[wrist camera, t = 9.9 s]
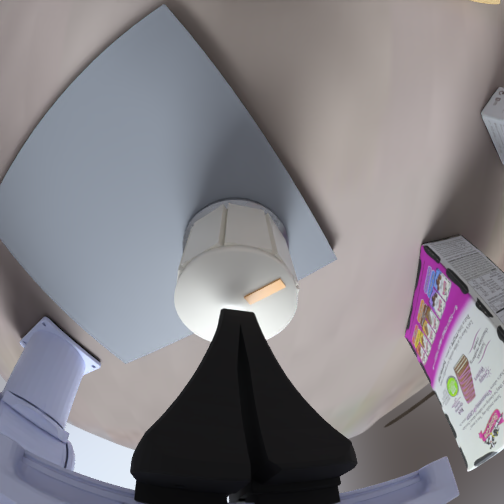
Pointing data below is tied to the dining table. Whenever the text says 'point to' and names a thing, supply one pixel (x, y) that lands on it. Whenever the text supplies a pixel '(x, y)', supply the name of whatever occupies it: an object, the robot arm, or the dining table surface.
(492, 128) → the skincare box
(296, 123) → the dining table surface
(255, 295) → the knob
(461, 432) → the candy bar box
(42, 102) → the dining table surface
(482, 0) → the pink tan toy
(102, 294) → the board
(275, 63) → the dining table surface
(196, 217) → the grey disc
